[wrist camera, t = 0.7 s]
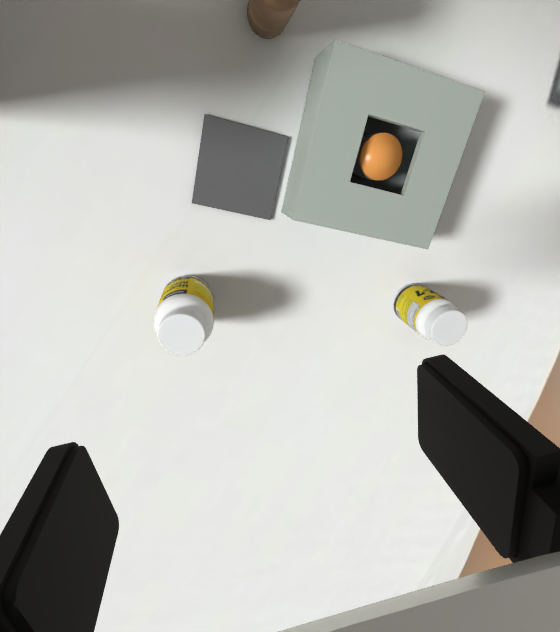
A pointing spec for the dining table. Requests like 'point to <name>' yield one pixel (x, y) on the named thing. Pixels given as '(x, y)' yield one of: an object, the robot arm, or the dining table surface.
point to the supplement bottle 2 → (430, 314)
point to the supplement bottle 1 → (184, 315)
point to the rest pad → (238, 167)
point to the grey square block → (346, 134)
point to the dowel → (270, 16)
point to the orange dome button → (378, 156)
